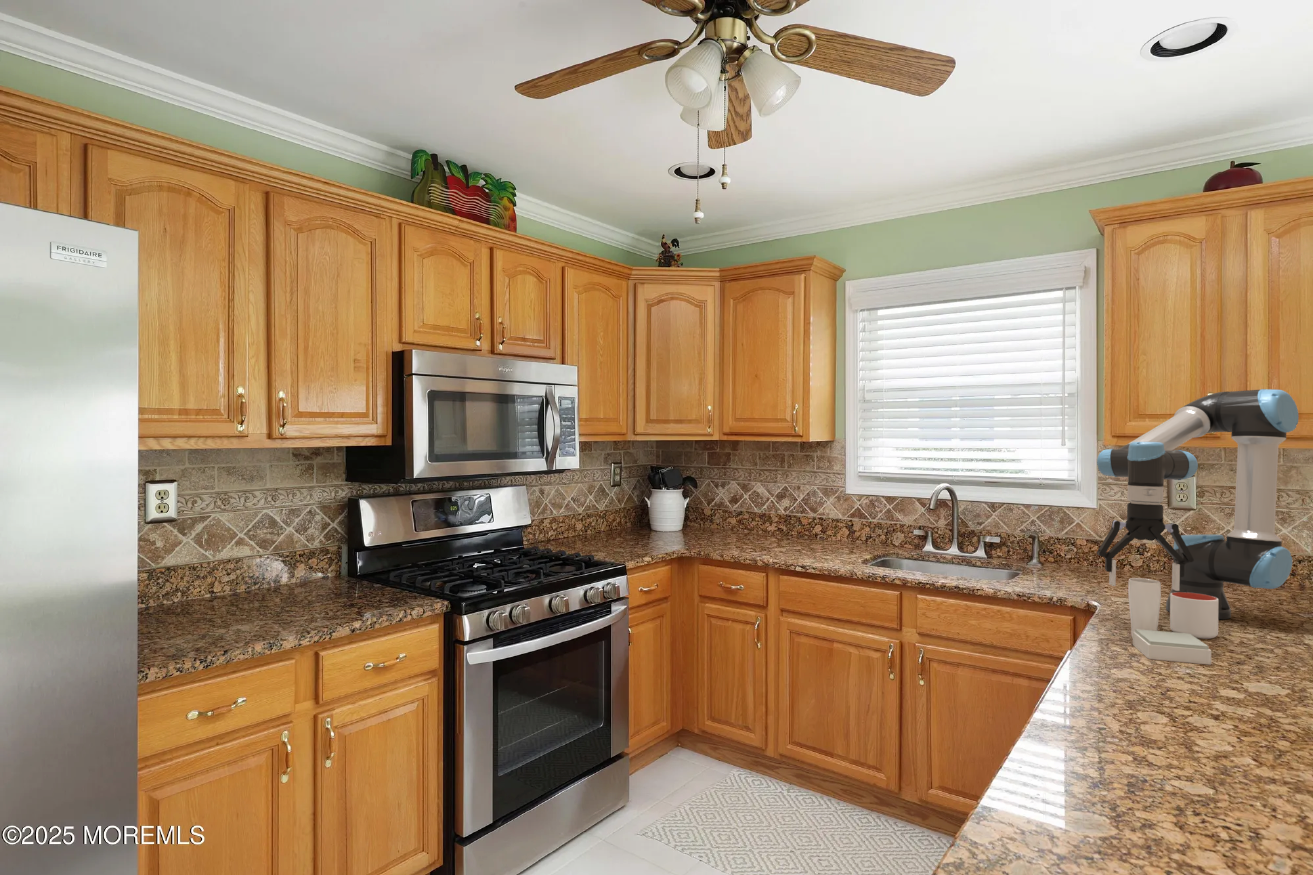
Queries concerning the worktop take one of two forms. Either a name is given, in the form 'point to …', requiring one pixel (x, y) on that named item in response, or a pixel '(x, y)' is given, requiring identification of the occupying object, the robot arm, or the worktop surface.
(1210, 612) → the cup
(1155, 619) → the drinking glass
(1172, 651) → the coaster
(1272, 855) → the worktop surface
